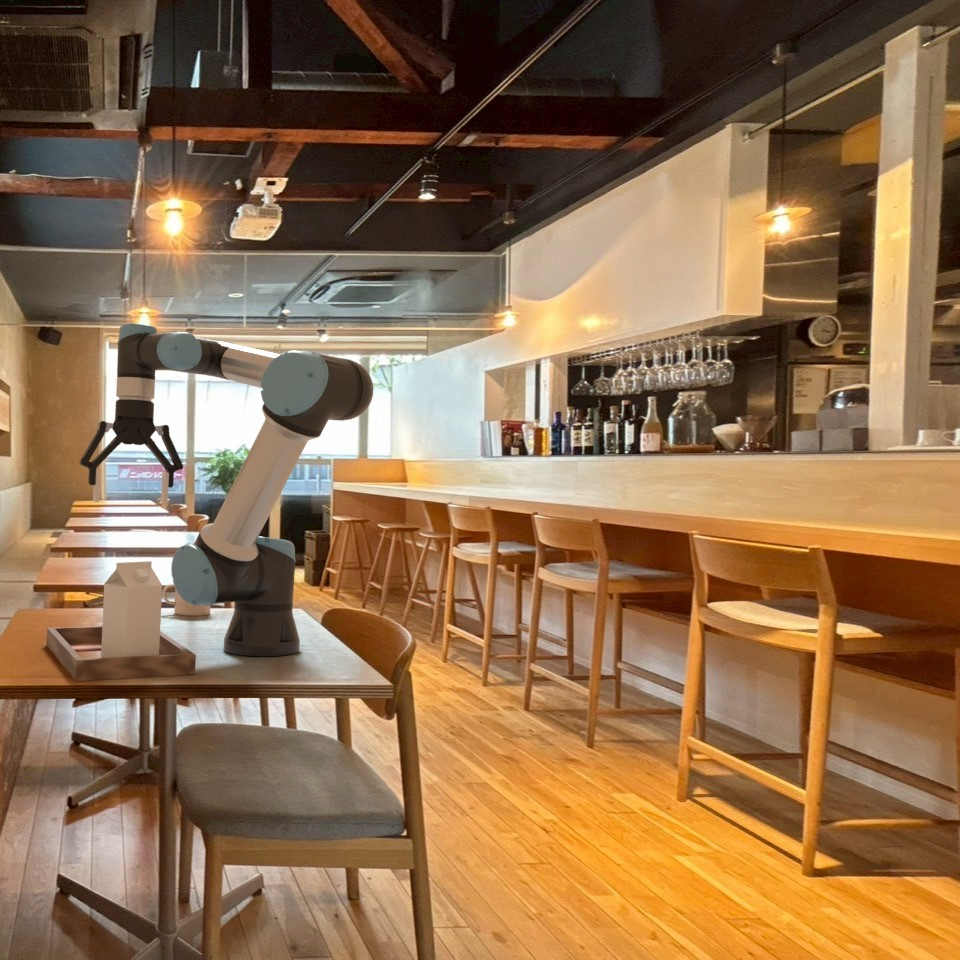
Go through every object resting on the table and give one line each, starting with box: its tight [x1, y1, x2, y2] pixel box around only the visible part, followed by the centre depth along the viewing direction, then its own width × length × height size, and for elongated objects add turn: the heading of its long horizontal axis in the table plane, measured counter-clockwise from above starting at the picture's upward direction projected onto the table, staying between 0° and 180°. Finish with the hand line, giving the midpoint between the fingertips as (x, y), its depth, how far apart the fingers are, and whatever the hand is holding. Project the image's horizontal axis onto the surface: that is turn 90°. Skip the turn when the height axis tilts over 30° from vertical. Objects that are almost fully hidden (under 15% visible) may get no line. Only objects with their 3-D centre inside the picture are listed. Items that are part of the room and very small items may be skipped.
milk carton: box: [100, 561, 163, 658], centre depth 183 cm, size 7×7×19 cm
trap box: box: [46, 625, 197, 682], centre depth 193 cm, size 20×36×4 cm, turn 30°
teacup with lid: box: [162, 583, 212, 617], centre depth 255 cm, size 12×9×12 cm
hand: (130, 502), depth 212 cm, fingers open, 13 cm apart
